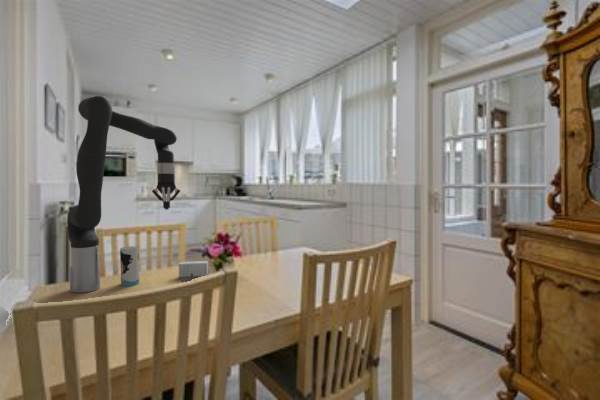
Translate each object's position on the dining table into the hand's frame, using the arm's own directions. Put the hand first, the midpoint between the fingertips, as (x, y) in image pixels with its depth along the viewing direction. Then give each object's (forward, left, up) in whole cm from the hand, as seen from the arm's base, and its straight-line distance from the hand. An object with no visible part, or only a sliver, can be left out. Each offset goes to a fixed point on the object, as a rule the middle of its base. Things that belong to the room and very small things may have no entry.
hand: (166, 209), depth 157 cm
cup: (-13, -19, -29) cm, 37 cm away
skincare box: (+6, -14, -26) cm, 30 cm away
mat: (+13, -14, -29) cm, 35 cm away
